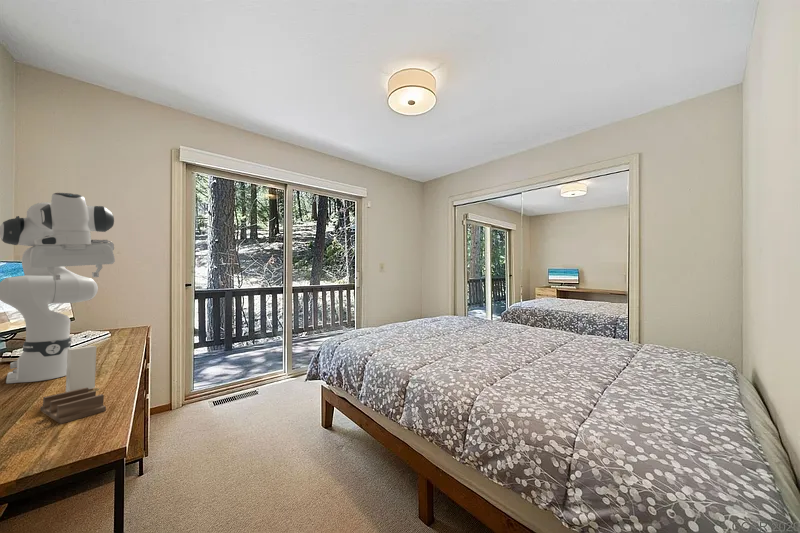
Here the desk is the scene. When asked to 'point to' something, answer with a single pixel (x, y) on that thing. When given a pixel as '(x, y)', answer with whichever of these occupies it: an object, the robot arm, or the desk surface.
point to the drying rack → (72, 405)
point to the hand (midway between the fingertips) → (77, 278)
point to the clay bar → (81, 368)
